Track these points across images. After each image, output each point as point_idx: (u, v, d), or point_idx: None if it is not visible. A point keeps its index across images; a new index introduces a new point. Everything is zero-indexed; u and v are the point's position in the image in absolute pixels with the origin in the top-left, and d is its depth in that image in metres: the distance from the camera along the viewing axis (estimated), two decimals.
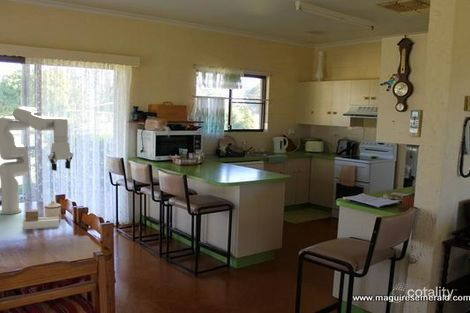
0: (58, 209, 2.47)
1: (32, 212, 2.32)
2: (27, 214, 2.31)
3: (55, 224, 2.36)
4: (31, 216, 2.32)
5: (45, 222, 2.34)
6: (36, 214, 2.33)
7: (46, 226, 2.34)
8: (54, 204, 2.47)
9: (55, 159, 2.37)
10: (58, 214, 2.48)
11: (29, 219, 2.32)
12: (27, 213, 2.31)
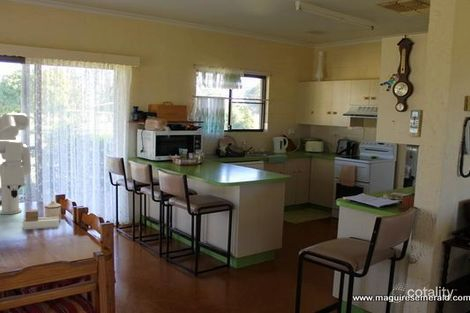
0: (58, 209, 2.47)
1: (32, 212, 2.32)
2: (27, 214, 2.31)
3: (55, 224, 2.36)
4: (31, 216, 2.32)
5: (45, 222, 2.34)
6: (36, 214, 2.33)
7: (46, 226, 2.34)
8: (54, 204, 2.47)
9: None
10: (58, 214, 2.48)
11: (29, 219, 2.32)
12: (27, 213, 2.31)
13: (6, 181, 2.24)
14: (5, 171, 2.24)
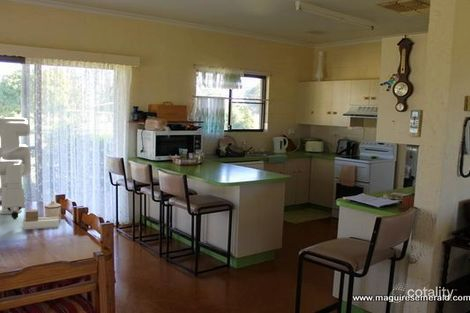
0: (58, 209, 2.47)
1: (32, 212, 2.32)
2: (27, 214, 2.31)
3: (55, 224, 2.36)
4: (31, 216, 2.32)
5: (45, 222, 2.34)
6: (36, 214, 2.33)
7: (46, 226, 2.34)
8: (54, 204, 2.47)
9: None
10: (58, 214, 2.48)
11: (29, 219, 2.32)
12: (27, 213, 2.31)
13: (7, 203, 2.26)
14: (6, 193, 2.25)
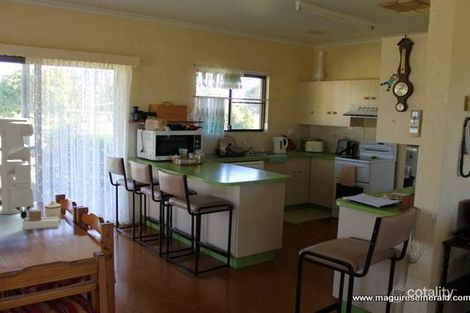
0: (58, 209, 2.47)
1: (35, 212, 2.32)
2: (30, 214, 2.31)
3: (55, 224, 2.36)
4: (34, 216, 2.32)
5: (45, 222, 2.34)
6: (39, 214, 2.33)
7: (46, 226, 2.34)
8: (54, 204, 2.47)
9: None
10: (58, 214, 2.48)
11: (32, 219, 2.32)
12: (30, 213, 2.31)
13: (16, 203, 2.28)
14: (15, 193, 2.27)
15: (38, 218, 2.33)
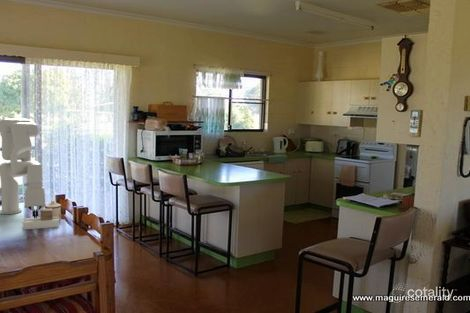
0: (58, 209, 2.47)
1: (47, 211, 2.35)
2: (42, 213, 2.34)
3: (55, 224, 2.36)
4: (46, 215, 2.35)
5: (45, 222, 2.34)
6: (50, 213, 2.36)
7: (46, 226, 2.34)
8: (54, 204, 2.47)
9: None
10: (58, 214, 2.48)
11: (44, 218, 2.34)
12: (42, 212, 2.34)
13: (28, 202, 2.30)
14: (27, 193, 2.30)
15: (50, 217, 2.36)
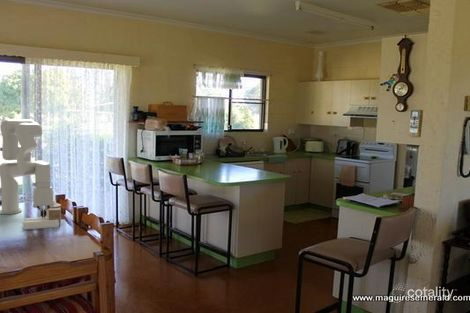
0: None
1: (55, 211, 2.36)
2: (50, 213, 2.35)
3: (55, 224, 2.36)
4: (54, 215, 2.36)
5: (45, 222, 2.34)
6: (58, 213, 2.37)
7: (46, 226, 2.34)
8: (54, 204, 2.47)
9: None
10: None
11: (52, 217, 2.36)
12: (50, 212, 2.35)
13: (36, 202, 2.32)
14: (35, 192, 2.31)
15: (58, 217, 2.37)
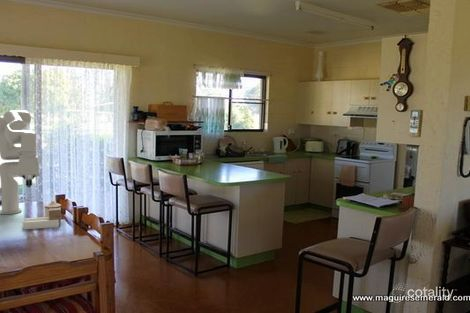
0: None
1: (55, 211, 2.36)
2: (50, 213, 2.36)
3: (55, 224, 2.36)
4: (54, 214, 2.36)
5: (45, 222, 2.34)
6: (59, 213, 2.37)
7: (46, 226, 2.34)
8: (54, 204, 2.47)
9: None
10: None
11: (52, 217, 2.36)
12: (50, 212, 2.35)
13: (21, 171, 2.30)
14: (20, 161, 2.29)
15: (58, 217, 2.37)
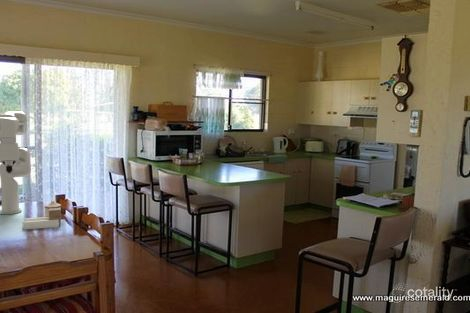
0: None
1: (55, 211, 2.36)
2: (50, 213, 2.36)
3: (55, 224, 2.36)
4: (54, 214, 2.36)
5: (45, 222, 2.34)
6: (59, 213, 2.37)
7: (46, 226, 2.34)
8: (54, 204, 2.47)
9: None
10: None
11: (52, 217, 2.36)
12: (50, 212, 2.35)
13: (1, 157, 2.33)
14: (0, 147, 2.33)
15: (58, 217, 2.37)
